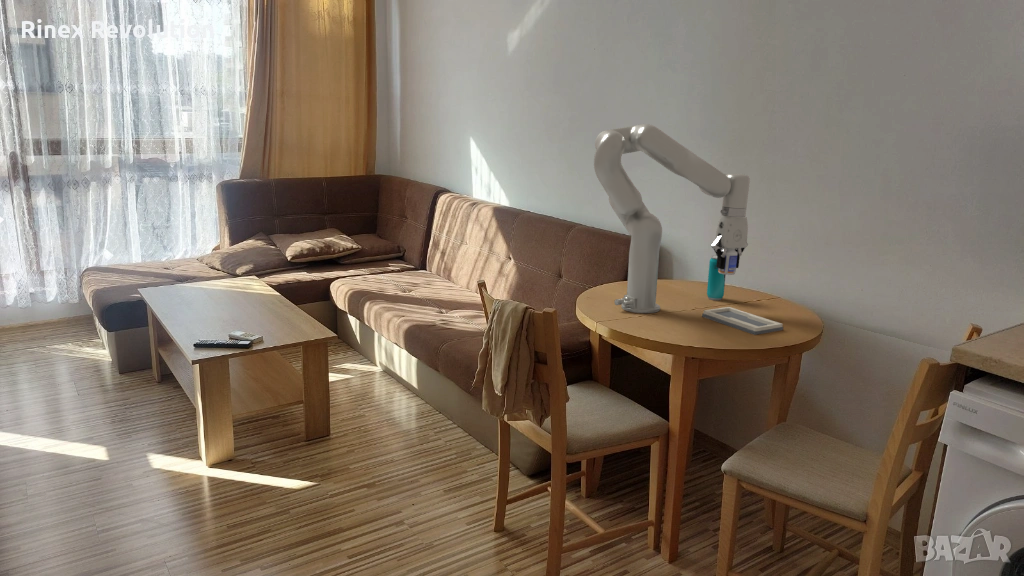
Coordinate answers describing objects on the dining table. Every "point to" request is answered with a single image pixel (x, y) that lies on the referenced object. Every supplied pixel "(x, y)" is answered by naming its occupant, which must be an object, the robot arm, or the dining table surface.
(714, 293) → the beverage can
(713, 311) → the grey flat rectangular tray
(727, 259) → the pill bottle
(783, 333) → the dining table surface
